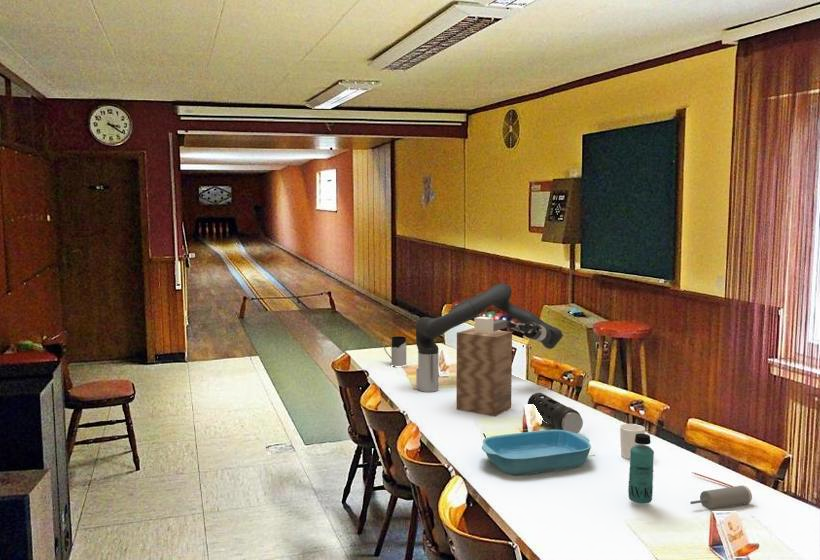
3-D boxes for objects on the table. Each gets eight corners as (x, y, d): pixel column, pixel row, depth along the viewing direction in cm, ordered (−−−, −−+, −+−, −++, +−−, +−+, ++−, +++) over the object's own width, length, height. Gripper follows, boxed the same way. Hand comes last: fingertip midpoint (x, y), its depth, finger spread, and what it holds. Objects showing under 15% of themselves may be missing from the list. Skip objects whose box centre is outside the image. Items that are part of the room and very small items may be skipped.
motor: (763, 503, 197) (762, 485, 197) (698, 514, 190) (696, 495, 191) (705, 486, 219) (704, 470, 220) (644, 495, 213) (643, 478, 213)
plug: (474, 332, 288) (474, 318, 287) (496, 326, 303) (496, 312, 303) (487, 334, 284) (487, 319, 284) (508, 327, 300) (509, 313, 299)
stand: (456, 409, 291) (456, 332, 288) (473, 401, 303) (473, 327, 299) (495, 416, 281) (496, 337, 278) (511, 408, 292) (512, 331, 289)
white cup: (644, 453, 238) (645, 425, 237) (644, 461, 230) (644, 432, 229) (619, 451, 240) (620, 422, 239) (618, 459, 233) (619, 429, 232)
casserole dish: (498, 482, 214) (499, 459, 213) (470, 457, 235) (470, 437, 234) (604, 468, 225) (605, 446, 224) (568, 446, 246) (568, 426, 245)
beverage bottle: (624, 500, 200) (626, 431, 198) (646, 499, 200) (649, 430, 198) (633, 509, 193) (635, 438, 191) (656, 508, 194) (659, 438, 192)
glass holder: (401, 368, 367) (401, 339, 365) (378, 365, 374) (378, 337, 373) (410, 365, 374) (410, 337, 372) (388, 362, 382) (388, 334, 380)
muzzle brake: (548, 416, 281) (548, 390, 280) (584, 438, 255) (585, 410, 254) (526, 418, 279) (526, 392, 278) (560, 440, 252) (561, 412, 251)
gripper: (522, 322, 325) (504, 314, 312) (550, 324, 315) (532, 317, 303) (519, 338, 323) (501, 331, 311) (547, 341, 314) (529, 334, 302)
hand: (516, 324), depth 307 cm, fingers open, 8 cm apart
